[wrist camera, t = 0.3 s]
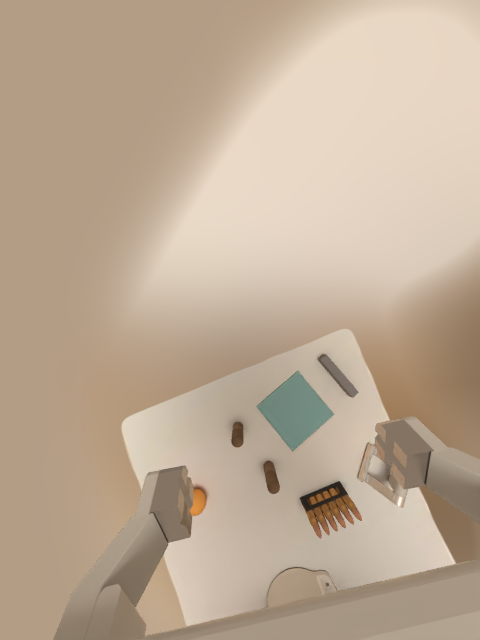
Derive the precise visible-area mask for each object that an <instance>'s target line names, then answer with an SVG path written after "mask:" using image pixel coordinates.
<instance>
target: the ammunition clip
mask: <svg viewBox="0 0 480 640" xmlns="http://www.w3.org/2000/svg"><path fill="white" fill-rule="evenodd" d="M341 498H342V499H341ZM300 500H301V502H302V505H303V507H304V509H305V511H306V514H307V516H308V518H309V521H310V523H311V525H312V526H313V529H314V531H315V532H316V534H317V536H318V537H319V538H321V531H320V528H319V525H318V521H319V523H320V524H321V526H322V528H323V529H324V531H325V532H326V533H327V534H328V535H329V534H330V532H329V528H328V525H327V522H326V520H325V517H326V519H327V520H328V521H329V523H330V525H331V526H332V528H333V529H334V530H335V531H338V529H337V525H336V522H335V520H334V518H333V515H334V516H335V517H336V519H337V520H338V522H339V523H340V525H341V526H342V527H344V528H346V526H345V522H344V519H343V518H342V516H341V513H340V511H341V512H342V513H343V514H344V516H345V517H346V519H347V520H348V521H349V522H350V523H351V524H354V521H353V518H352V516H351V515H350V513H349V511H348V508H349V510H351V512H352V513H353V514H354V515H355V517H356V518H357V519H359V520H360V521H362V518H361V515H360V513H359V511H358V510H357V508H356V506H355V504H354V503H353V501H352V500H351V498H350V497H349V496H348V494H347V492H346V491H345V489H344V487H343V486H342V484H341V483H340V481H338V482H336V483H334V484H331V485H329V486H327V487H324V488H322V489H319V490H317V491H315V492H312V493H310V494H308V495H305V496H303V497H301V498H300ZM333 500H334V501H335V502H334V501H333ZM335 503H336V504H335ZM345 504H346V505H345ZM328 506H329V507H328ZM346 506H347V507H348V508H347V507H346ZM320 507H321V508H320ZM338 508H339V509H340V511H339V509H338ZM321 509H322V510H321ZM313 510H314V511H313ZM330 510H331V511H330ZM331 512H332V513H333V515H332V513H331ZM323 513H324V514H323ZM324 515H325V516H324ZM316 517H317V518H316ZM317 519H318V521H317Z"/></svg>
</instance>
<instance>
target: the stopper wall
mask: <svg viewBox="0 0 480 640" xmlns="http://www.w3.org/2000/svg"><path fill="white" fill-rule="evenodd" d="M318 361H319V362H320V363H321V364H322V365H323V366H324V368H325V369H326V370H327V371H328V372H329V374H330V375H331V376H332V377H333V378H334V379H335V381H336V382H337V383H338V384H339V385H340V386H341V388H342V389H343V390H344V391H345V392H346V393H347V395H348V396H350V397H354V396H355V395H356V394H358V393H359V392H358V391H357V390H356V388H355V387H354V386H353V385H352V384H351V383H350V382H349V380H348V379H347V378H346V377H345V376H344V375H343V373H342V372H341V371H340V370H339V369H338V368H337V366H336V365H335V364H334V363H333V362H332V361H331V359H330V358H329V357H328V356H327V355H324V354H323V355H322V356H321V357H320V358H318Z"/></svg>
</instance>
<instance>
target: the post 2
mask: <svg viewBox="0 0 480 640" xmlns="http://www.w3.org/2000/svg"><path fill="white" fill-rule="evenodd" d="M264 472H265V477H266V483H267V488H268V491H269V492H270V493H272V494H275V493H277V492H278V491H279V489H280V486H279V482H278V479H277V475H276V471H275V468H274V464H273V463H272V462H271V461H267V462H265V463H264Z"/></svg>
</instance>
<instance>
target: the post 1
mask: <svg viewBox="0 0 480 640" xmlns="http://www.w3.org/2000/svg"><path fill="white" fill-rule="evenodd" d="M231 442H232V445H233V446H234V447H240V446H242V444H243V425H242V424H241V423H240V422H236V423H235V424H234V425H233V431H232V440H231Z"/></svg>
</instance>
